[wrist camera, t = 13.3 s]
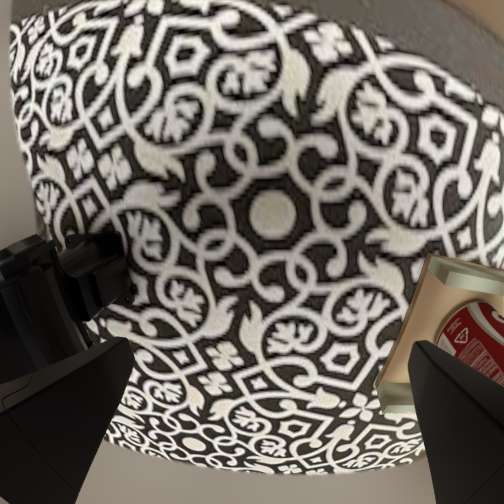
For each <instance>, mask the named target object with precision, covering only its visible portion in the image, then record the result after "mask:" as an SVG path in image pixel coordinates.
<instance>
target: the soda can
mask: <svg viewBox="0 0 504 504" xmlns="http://www.w3.org/2000/svg"><path fill="white" fill-rule="evenodd" d="M436 346H438V347H439V348H441V349H443V350H444V351H446V352H448V353H449V354H451V355H453V356H454V357H456V358H458V359H459V360H461V361H463V362H464V363H466V364H467V365H469V366H471V367H472V368H474V369H476V370H477V371H479V372H481V373H482V374H484V375H485V376H487V377H489V378H490V379H492V380H494V381H495V382H497V383H498V384H500V385H502V386H503V387H504V317H503V316H502V315H501V314H499V313H498V312H497V311H496V310H495V309H494V308H493V307H492V306H491V305H490V304H489V303H487V302H483V301H476V302H472V303H469V304H467V305H465V306H463V307H461V308H460V309H459V310H457V311H456V312H455V313H454V314H453V315H452V316H451V317H450V318H449V319H448V320H447V321H446V323H445V324H444V326H443V327H442V329H441V331H440V333H439V335H438V337H437V340H436Z"/></svg>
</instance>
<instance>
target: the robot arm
mask: <svg viewBox="0 0 504 504" xmlns="http://www.w3.org/2000/svg"><path fill="white" fill-rule="evenodd" d="M114 235H115V236H116V239H115V238H114ZM69 240H70V241H69ZM65 245H66V249H64V250H62V251H60V252H58V253H57V251H56V248H55V247H56V244H55V240H54V239H52V240H49V241H46V239H45V240H43V239H41V238H40V237H39V236H38V235H37V234H35V235H32V236H30V237H27V238H25V239H23V240H20V241H18V242H16V243H14V244H12V245H10V246H8V247H6V248H4V249H2V250H0V504H75V502H76V500H77V497H78V495H79V494H78V493H79V492H80V490H81V487H82V485H83V482H84V480H85V478H86V475H87V473H88V471H89V469H90V466H91V464H92V462H93V460H94V457H95V455H96V453H97V451H98V448H99V446H100V444H101V442H102V440H103V437H104V435H105V433H106V431H107V429H108V427H109V425H110V422H111V420H112V418H113V416H114V414H115V412H116V410H117V408H118V406H119V404H120V401H121V399H122V397H123V394H124V391H125V389H126V386H127V383H128V380H129V378H130V375H131V372H132V370H133V367H134V364H135V357H134V354H133V351H132V348H131V345H130V342H129V340H128V339H127V338H125V337H114V338H112V339H110V340H107V341H105V342H103V343H101V344H98V345H96V346H95V345H94V343H93V341H91V339H90V337H89V335H88V332H87V330H86V328H85V326H84V323H85V322H89V321H90V320H91V319H93V318H94V317H95V316H96V315H97V314H98V313H99V312H100V311H102V310H103V309H104V308H107V307H108V306H109V305H110V304H118V305H131V304H132V303H133V302H134V295H133V291H132V287H131V280H130V276H129V271H128V266H127V262H126V258H125V254H124V249H123V244H122V238H121V234H120V233H119V232H118V231H107V232H94V233H83V234H71V235H68V236H66V237H65ZM127 298H129V300H130V301H129V300H128V299H127ZM407 367H408V374H409V379H410V384H411V390H412V395H413V401H414V407H415V411H416V415H417V419H418V423H419V426H420V430H421V434H422V438H423V442H424V446H425V450H426V454H427V458H428V463H429V467H430V472H431V477H432V482H433V488H434V493H435V499H436V504H504V387H503V386H502V385H500V384H498V383H497V382H495V381H494V380H492V379H490V378H489V377H487V376H485V375H484V374H482V373H481V372H479V371H477V370H476V369H474V368H472V367H471V366H469V365H467V364H466V363H464V362H463V361H461V360H459V359H458V358H456V357H454V356H453V355H451V354H449V353H448V352H446V351H444V350H443V349H441V348H439V347H438V346H436V345H434V344H433V343H431V342H429V341H428V340H418V341H415V342H414V343H413V345H412V349H411V352H410V356H409V360H408V366H407Z"/></svg>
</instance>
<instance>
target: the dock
mask: <svg viewBox="0 0 504 504" xmlns="http://www.w3.org/2000/svg"><path fill="white" fill-rule="evenodd" d="M476 301H483V302H487V303H489V304H490V305H491V306H492V307H493V308H494V309H495V310H496V311H497V312H498V313H499V314H501V315H502V316H503V317H504V270H500V269H496V268H492V267H488V266H483V265H479V264H475V263H471V262H467V261H463V260H458V259H454V258H450V257H445V256H441V255H436V254H432V253H427V256H426V259H425V262H424V266H423V269H422V272H421V275H420V278H419V281H418V284H417V287H416V290H415V293H414V295H413V298H412V301H411V304H410V306H409V309H408V311H407V314H406V317H405V319H404V322H403V324H402V326H401V329H400V331H399V334H398V336H397V338H396V341H395V343H394V345H393V347H392V350H391V352H390V354H389V356H388V358H387V360H386V363H385V365H384V367H383V369H382V371H381V373H380V375H379V377H378V379H377V381H376V383H375V386H376V390H377V394H378V397H379V401H380V405H381V409H382V413H416V411H415V407H414V401H413V395H412V390H411V384H410V379H409V374H408V367H407V366H408V360H409V356H410V352H411V349H412V345H413V343H414V342H415V341H418V340H428V341H429V342H431V343H433V344H434V345H436V340H437V337H438V335H439V333H440V331H441V329H442V327H443V326H444V324H445V323H446V321H447V320H448V319H449V318H450V317H451V316H452V315H453V314H454V313H455V312H456V311H457V310H459V309H460V308H461V307H463V306H465V305H467V304H469V303H472V302H476Z"/></svg>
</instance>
